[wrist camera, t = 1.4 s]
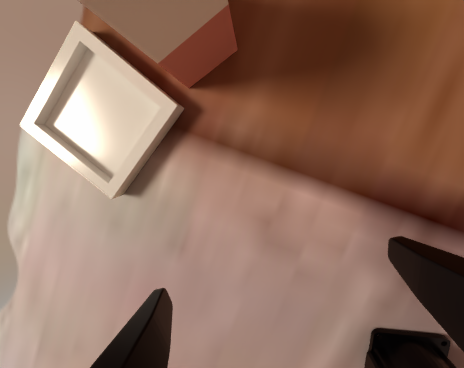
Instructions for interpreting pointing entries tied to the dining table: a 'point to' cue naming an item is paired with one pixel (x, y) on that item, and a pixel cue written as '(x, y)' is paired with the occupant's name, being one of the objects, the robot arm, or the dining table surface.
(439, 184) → the dining table surface
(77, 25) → the white tray
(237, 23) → the dining table surface
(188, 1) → the two tone block
